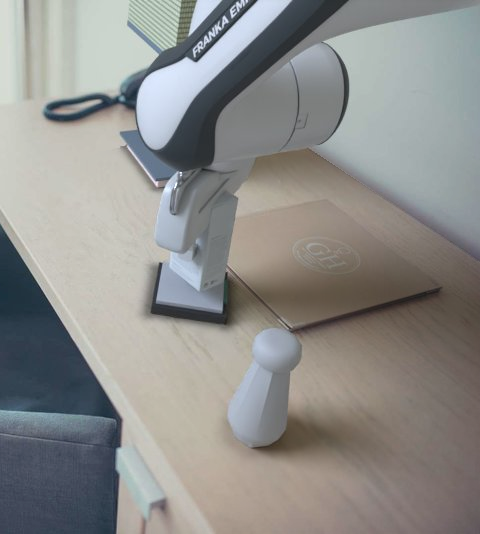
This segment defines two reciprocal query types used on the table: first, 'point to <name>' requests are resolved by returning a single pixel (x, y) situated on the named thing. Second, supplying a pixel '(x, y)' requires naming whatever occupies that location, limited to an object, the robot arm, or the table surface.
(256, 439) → the salt shaker
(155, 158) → the desk lamp
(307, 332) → the table surface
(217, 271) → the cosmetic box
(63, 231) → the table surface
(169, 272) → the scale
